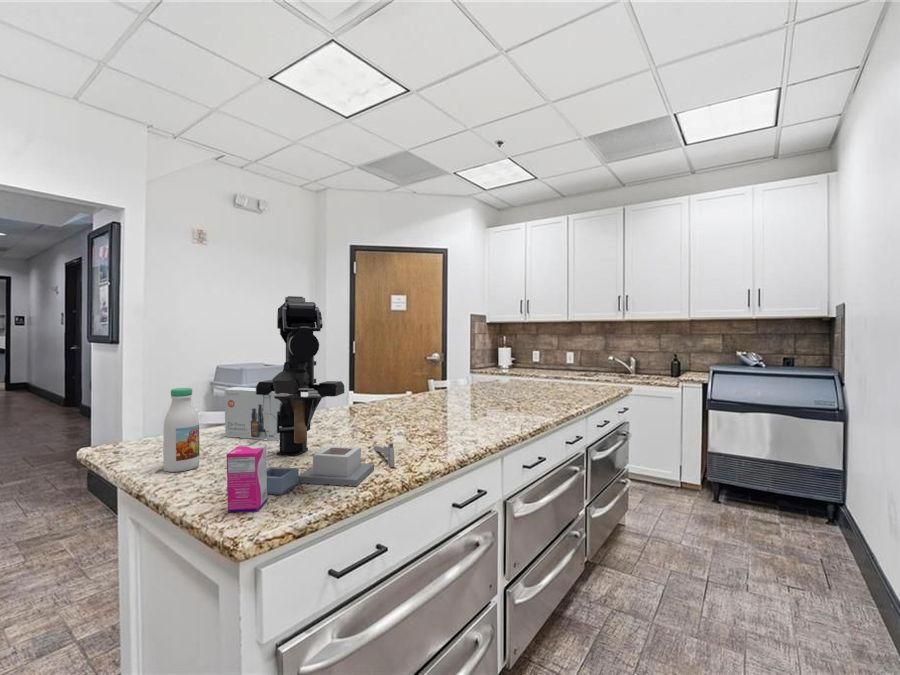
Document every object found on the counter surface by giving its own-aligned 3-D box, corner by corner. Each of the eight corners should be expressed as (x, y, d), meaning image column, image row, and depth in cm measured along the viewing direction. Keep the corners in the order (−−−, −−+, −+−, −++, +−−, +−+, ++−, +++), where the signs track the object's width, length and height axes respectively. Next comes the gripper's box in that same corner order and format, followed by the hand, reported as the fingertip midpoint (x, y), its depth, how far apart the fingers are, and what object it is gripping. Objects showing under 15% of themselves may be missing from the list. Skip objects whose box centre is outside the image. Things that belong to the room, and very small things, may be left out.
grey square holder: (297, 482, 99) (297, 456, 99) (321, 466, 111) (321, 443, 111) (356, 486, 97) (356, 460, 97) (374, 469, 109) (374, 446, 109)
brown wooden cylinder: (291, 442, 97) (291, 398, 97) (297, 439, 100) (297, 396, 100) (303, 443, 97) (303, 398, 97) (309, 440, 100) (309, 396, 100)
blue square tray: (251, 493, 93) (251, 476, 93) (270, 481, 100) (270, 466, 100) (281, 495, 92) (281, 478, 92) (298, 483, 99) (298, 468, 99)
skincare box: (223, 437, 141) (223, 388, 141) (235, 433, 146) (235, 386, 146) (281, 441, 136) (281, 391, 136) (291, 437, 141) (291, 388, 141)
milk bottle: (161, 474, 104) (161, 391, 104) (165, 465, 111) (165, 387, 111) (198, 470, 108) (198, 389, 108) (200, 461, 115) (200, 386, 114)
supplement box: (238, 501, 89) (238, 445, 88) (268, 500, 89) (268, 444, 89) (225, 513, 83) (225, 452, 83) (258, 512, 83) (258, 452, 83)
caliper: (394, 469, 111) (394, 444, 111) (390, 469, 110) (390, 444, 110) (376, 448, 130) (376, 427, 130) (372, 449, 129) (373, 428, 129)
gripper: (240, 358, 92) (240, 432, 92) (325, 359, 89) (325, 435, 89) (269, 356, 103) (269, 422, 103) (345, 356, 100) (345, 424, 100)
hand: (300, 426), depth 99 cm, fingers closed on brown wooden cylinder, 3 cm apart
